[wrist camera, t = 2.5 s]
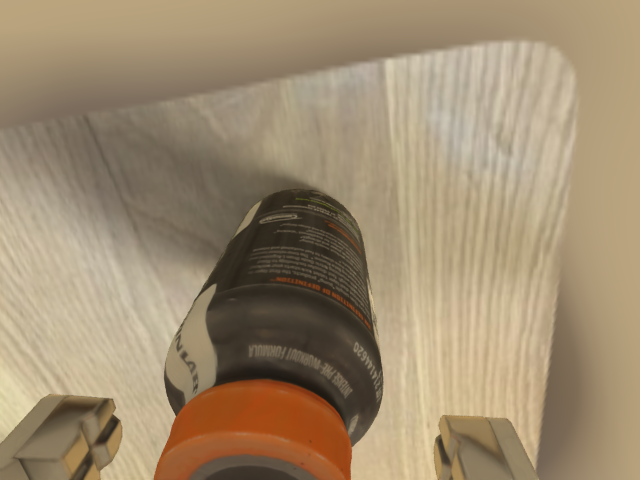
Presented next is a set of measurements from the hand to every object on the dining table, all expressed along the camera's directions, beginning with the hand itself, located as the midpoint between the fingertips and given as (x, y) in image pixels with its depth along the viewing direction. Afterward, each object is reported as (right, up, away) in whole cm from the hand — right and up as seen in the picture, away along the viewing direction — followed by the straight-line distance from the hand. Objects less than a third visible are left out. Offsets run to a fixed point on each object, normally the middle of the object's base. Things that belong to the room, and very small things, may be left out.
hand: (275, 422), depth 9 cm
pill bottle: (0, +4, +8) cm, 9 cm away
